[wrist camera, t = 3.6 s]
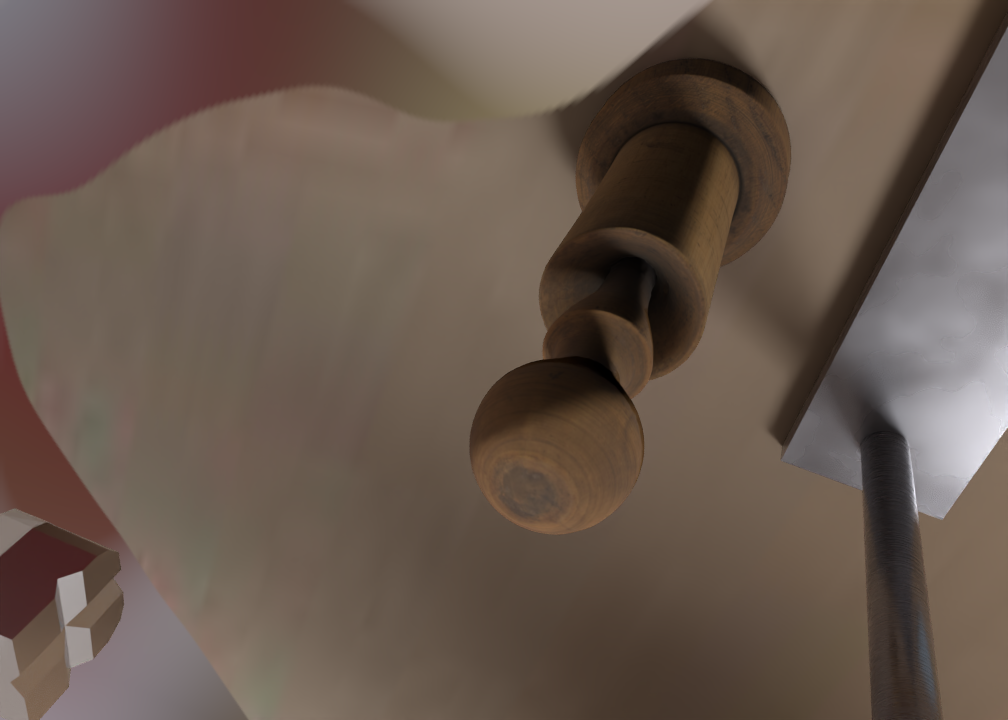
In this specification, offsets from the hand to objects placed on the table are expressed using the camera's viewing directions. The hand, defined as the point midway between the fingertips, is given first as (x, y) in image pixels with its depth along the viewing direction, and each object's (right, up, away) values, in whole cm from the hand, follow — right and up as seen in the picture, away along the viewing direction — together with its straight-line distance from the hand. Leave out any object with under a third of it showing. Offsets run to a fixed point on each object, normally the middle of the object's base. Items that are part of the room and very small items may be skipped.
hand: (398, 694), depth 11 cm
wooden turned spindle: (+7, +11, +18) cm, 22 cm away
